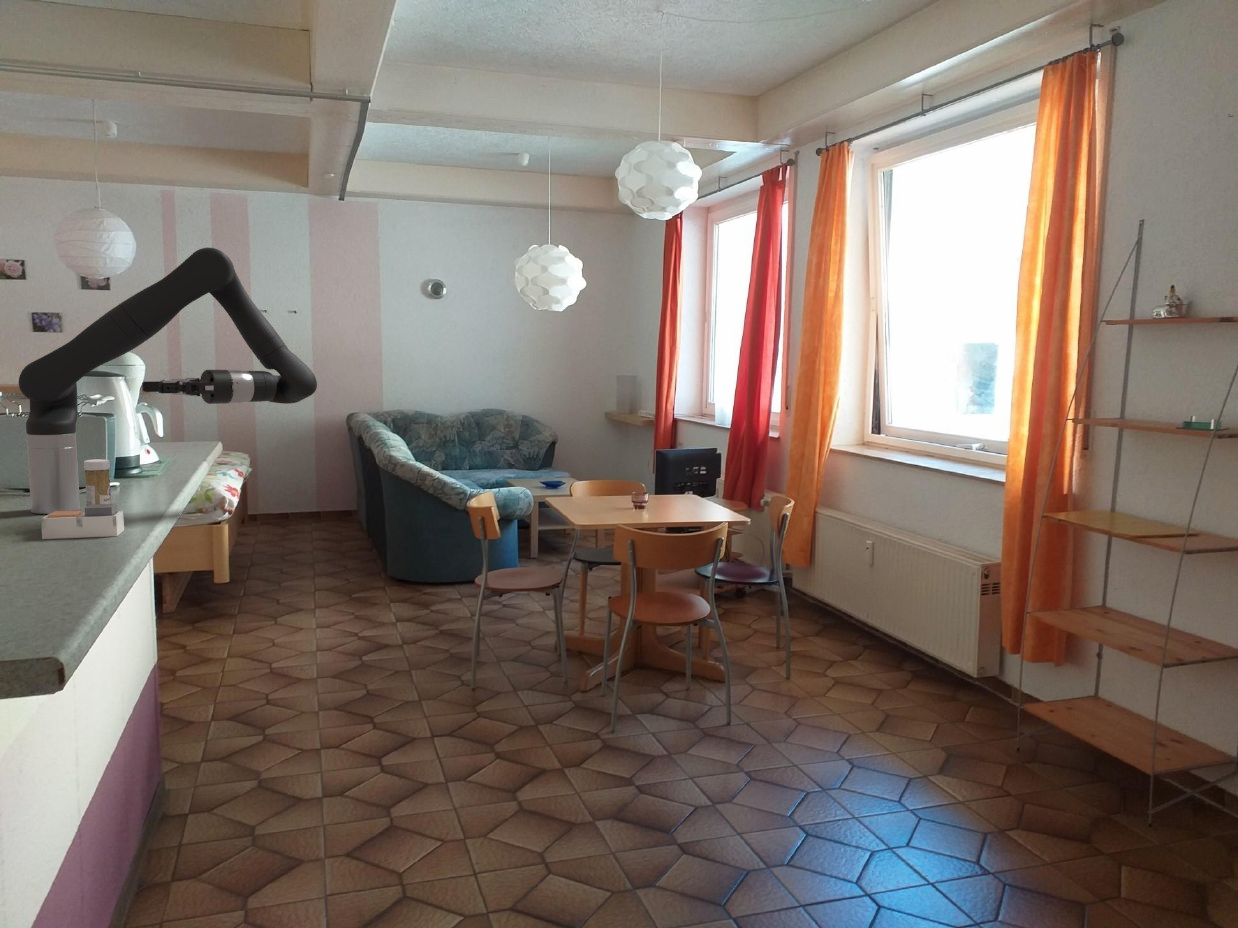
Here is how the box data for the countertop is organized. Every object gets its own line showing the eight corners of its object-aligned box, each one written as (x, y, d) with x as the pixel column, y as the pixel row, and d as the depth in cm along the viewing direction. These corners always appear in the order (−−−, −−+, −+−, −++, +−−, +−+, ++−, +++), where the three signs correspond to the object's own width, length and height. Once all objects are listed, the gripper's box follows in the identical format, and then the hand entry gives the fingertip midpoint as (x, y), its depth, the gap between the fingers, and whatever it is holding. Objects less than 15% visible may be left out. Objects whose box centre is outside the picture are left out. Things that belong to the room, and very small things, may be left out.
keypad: (52, 532, 176) (50, 513, 176) (124, 530, 180) (123, 510, 180) (42, 539, 170) (41, 518, 170) (117, 536, 174) (116, 516, 174)
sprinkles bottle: (113, 526, 184) (110, 460, 183) (88, 528, 182) (84, 461, 180) (111, 522, 188) (108, 458, 186) (86, 524, 185) (82, 459, 184)
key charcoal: (91, 514, 177) (90, 504, 177) (117, 513, 179) (116, 503, 179) (85, 518, 173) (84, 508, 173) (112, 517, 174) (111, 507, 174)
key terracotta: (55, 521, 176) (54, 511, 175) (82, 520, 177) (81, 510, 177) (48, 525, 171) (47, 515, 171) (76, 524, 173) (75, 514, 172)
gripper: (212, 369, 206) (136, 368, 194) (241, 370, 196) (163, 370, 184) (213, 402, 207) (138, 403, 195) (242, 404, 197) (165, 406, 185)
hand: (150, 387), depth 189 cm, fingers open, 8 cm apart
